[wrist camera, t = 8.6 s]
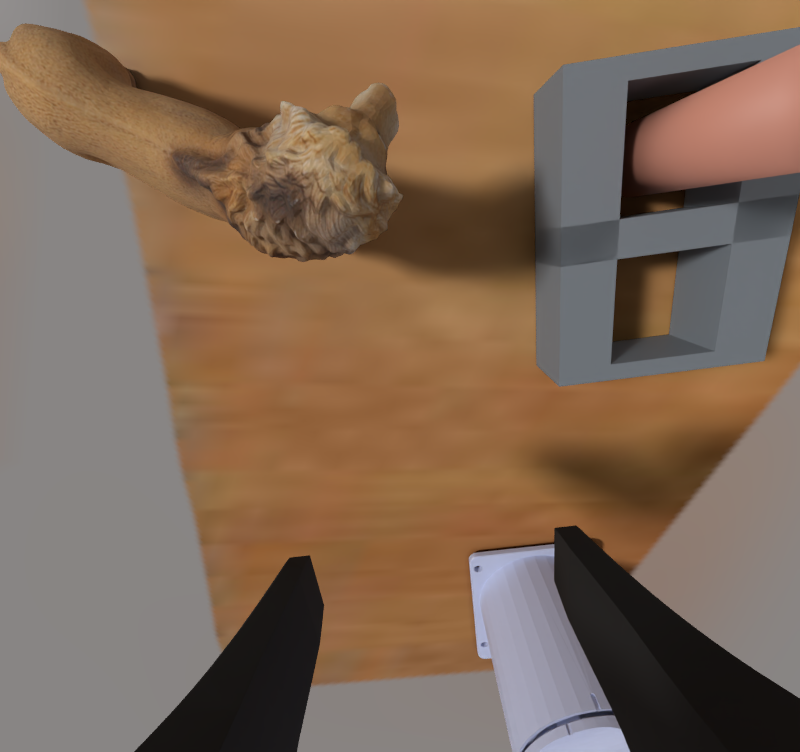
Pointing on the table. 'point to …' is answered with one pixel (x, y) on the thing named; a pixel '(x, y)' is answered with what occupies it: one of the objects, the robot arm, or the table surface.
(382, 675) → the table surface
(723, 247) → the hole block
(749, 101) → the peg
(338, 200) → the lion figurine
